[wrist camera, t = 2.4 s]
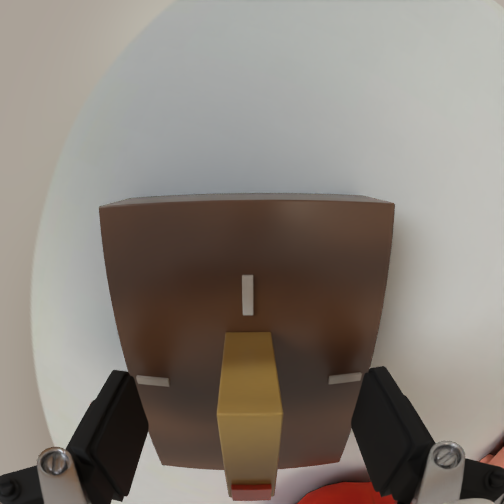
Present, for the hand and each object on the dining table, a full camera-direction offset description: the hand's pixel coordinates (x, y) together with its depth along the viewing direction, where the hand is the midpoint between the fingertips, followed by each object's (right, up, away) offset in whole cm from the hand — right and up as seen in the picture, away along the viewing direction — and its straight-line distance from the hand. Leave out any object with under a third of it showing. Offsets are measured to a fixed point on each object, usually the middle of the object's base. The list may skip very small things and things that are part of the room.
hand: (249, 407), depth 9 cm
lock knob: (0, 0, +1) cm, 1 cm away
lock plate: (0, +1, +4) cm, 4 cm away
